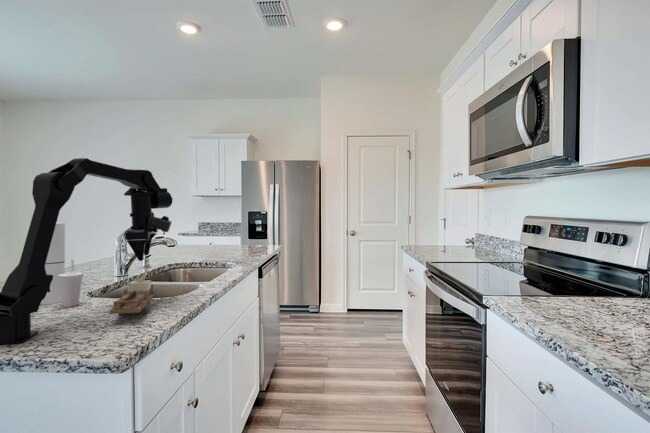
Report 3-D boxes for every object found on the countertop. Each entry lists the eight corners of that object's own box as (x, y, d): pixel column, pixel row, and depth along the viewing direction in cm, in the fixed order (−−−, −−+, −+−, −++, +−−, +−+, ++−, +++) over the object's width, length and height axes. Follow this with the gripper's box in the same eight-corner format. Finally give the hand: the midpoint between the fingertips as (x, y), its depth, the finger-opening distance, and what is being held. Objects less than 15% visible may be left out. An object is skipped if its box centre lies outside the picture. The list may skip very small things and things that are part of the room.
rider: (147, 296, 103) (147, 280, 103) (128, 296, 102) (128, 280, 102) (150, 292, 107) (151, 277, 107) (132, 293, 106) (132, 278, 106)
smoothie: (69, 309, 102) (70, 262, 102) (52, 307, 104) (52, 261, 103) (88, 303, 109) (88, 259, 108) (71, 301, 110) (71, 258, 110)
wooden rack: (139, 323, 91) (139, 301, 91) (109, 325, 89) (109, 302, 89) (156, 303, 110) (156, 284, 110) (131, 304, 109) (132, 285, 108)
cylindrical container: (31, 305, 106) (31, 223, 105) (43, 298, 112) (43, 222, 112) (58, 303, 107) (58, 223, 107) (68, 297, 114) (68, 222, 114)
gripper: (164, 211, 104) (167, 262, 105) (172, 207, 121) (174, 251, 123) (123, 211, 100) (125, 264, 102) (137, 208, 118) (139, 253, 119)
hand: (143, 257), depth 112 cm, fingers open, 9 cm apart
